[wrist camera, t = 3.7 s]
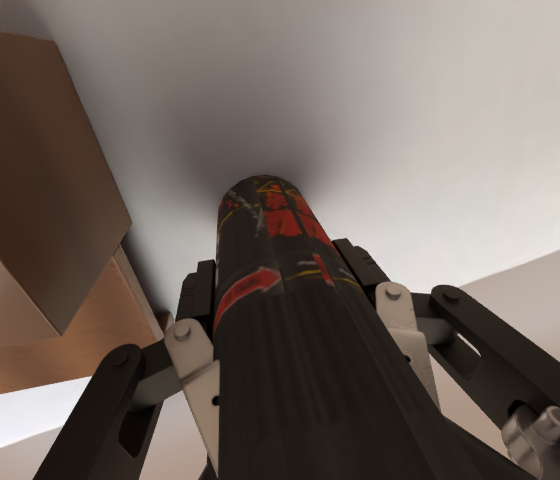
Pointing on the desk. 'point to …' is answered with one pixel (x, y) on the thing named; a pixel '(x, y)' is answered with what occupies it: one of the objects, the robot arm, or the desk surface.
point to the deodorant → (311, 358)
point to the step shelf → (59, 231)
